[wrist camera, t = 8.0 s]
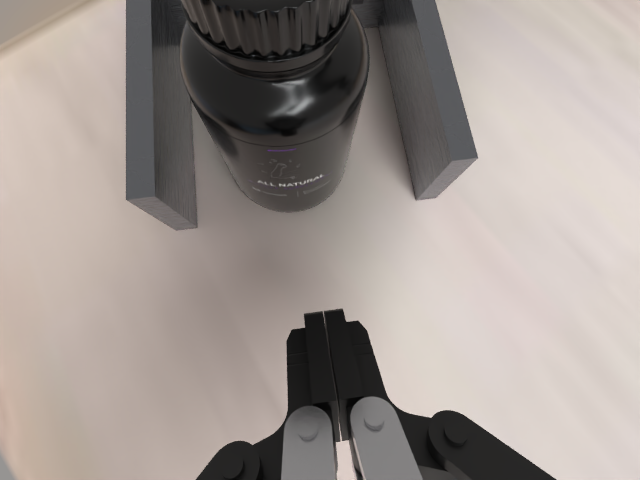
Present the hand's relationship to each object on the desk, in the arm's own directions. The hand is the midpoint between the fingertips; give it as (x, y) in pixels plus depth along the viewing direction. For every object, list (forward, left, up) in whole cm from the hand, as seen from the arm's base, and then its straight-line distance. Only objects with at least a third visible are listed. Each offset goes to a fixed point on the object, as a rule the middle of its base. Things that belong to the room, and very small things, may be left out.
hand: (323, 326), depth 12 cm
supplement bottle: (-6, -8, -5) cm, 11 cm away
